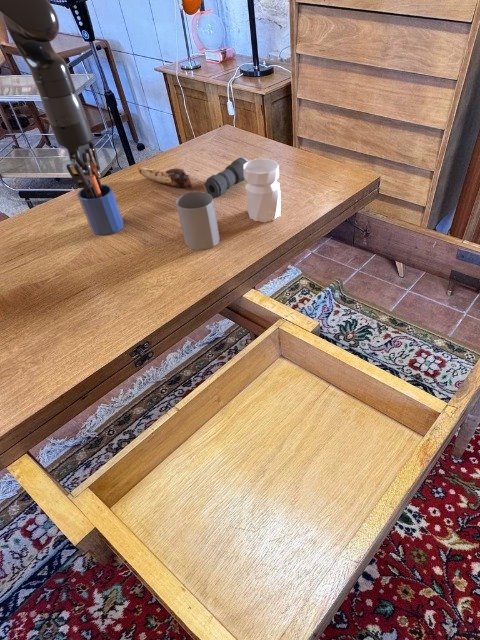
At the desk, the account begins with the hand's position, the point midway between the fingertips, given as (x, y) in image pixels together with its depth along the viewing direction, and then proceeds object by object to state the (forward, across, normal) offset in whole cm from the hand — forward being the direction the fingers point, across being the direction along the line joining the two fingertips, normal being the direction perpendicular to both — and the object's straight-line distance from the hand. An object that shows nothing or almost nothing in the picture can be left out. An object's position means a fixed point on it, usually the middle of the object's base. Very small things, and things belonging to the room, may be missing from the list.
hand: (96, 197), depth 106 cm
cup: (+8, +8, +25) cm, 27 cm away
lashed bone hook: (+8, -25, +12) cm, 29 cm away
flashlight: (+8, -20, +30) cm, 37 cm away
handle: (+7, 0, 0) cm, 7 cm away
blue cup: (+8, 0, 0) cm, 8 cm away
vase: (+8, -4, +40) cm, 41 cm away
